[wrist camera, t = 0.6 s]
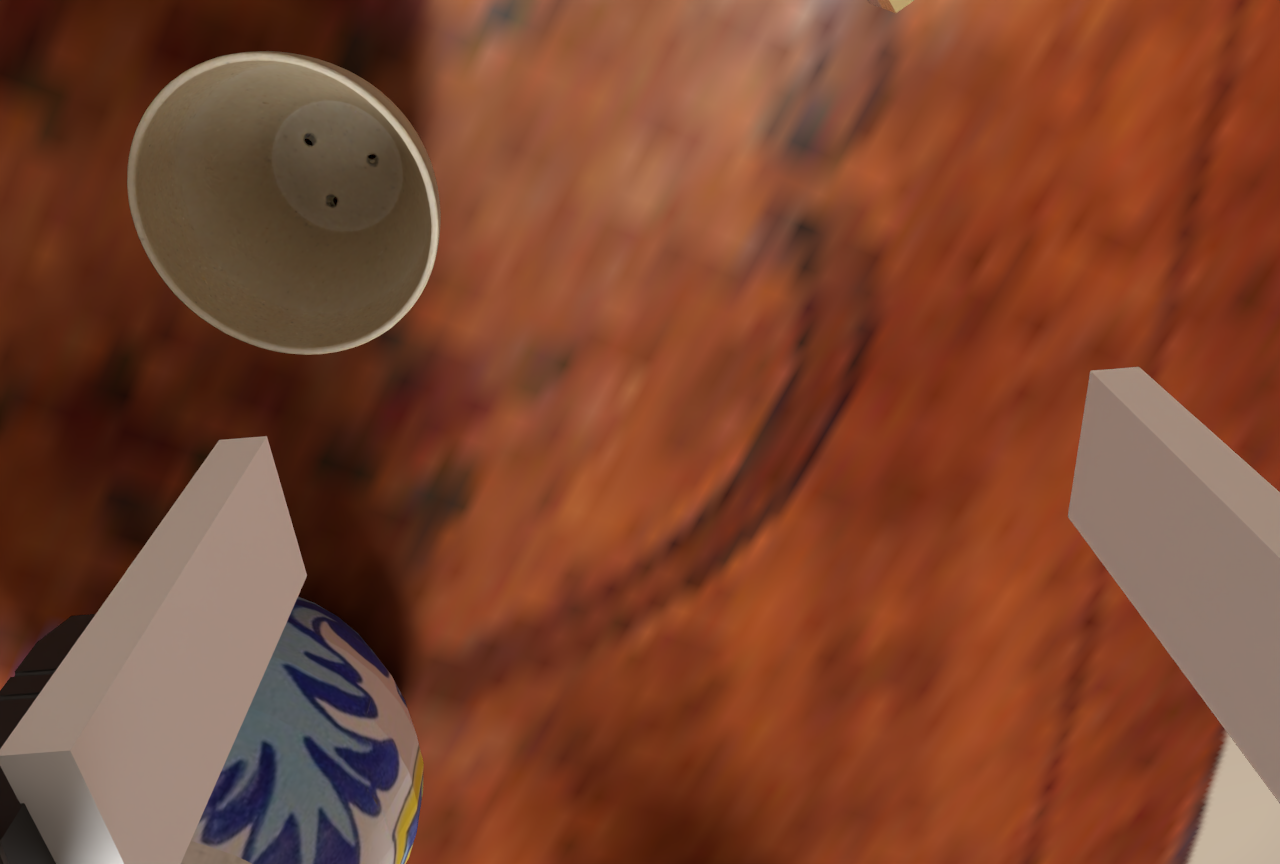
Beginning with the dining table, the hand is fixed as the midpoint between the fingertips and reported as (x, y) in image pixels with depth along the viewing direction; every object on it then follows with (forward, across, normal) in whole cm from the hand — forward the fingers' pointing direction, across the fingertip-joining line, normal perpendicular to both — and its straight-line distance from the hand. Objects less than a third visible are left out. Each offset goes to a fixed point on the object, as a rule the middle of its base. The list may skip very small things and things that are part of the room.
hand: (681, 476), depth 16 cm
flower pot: (+26, -12, 0) cm, 28 cm away
